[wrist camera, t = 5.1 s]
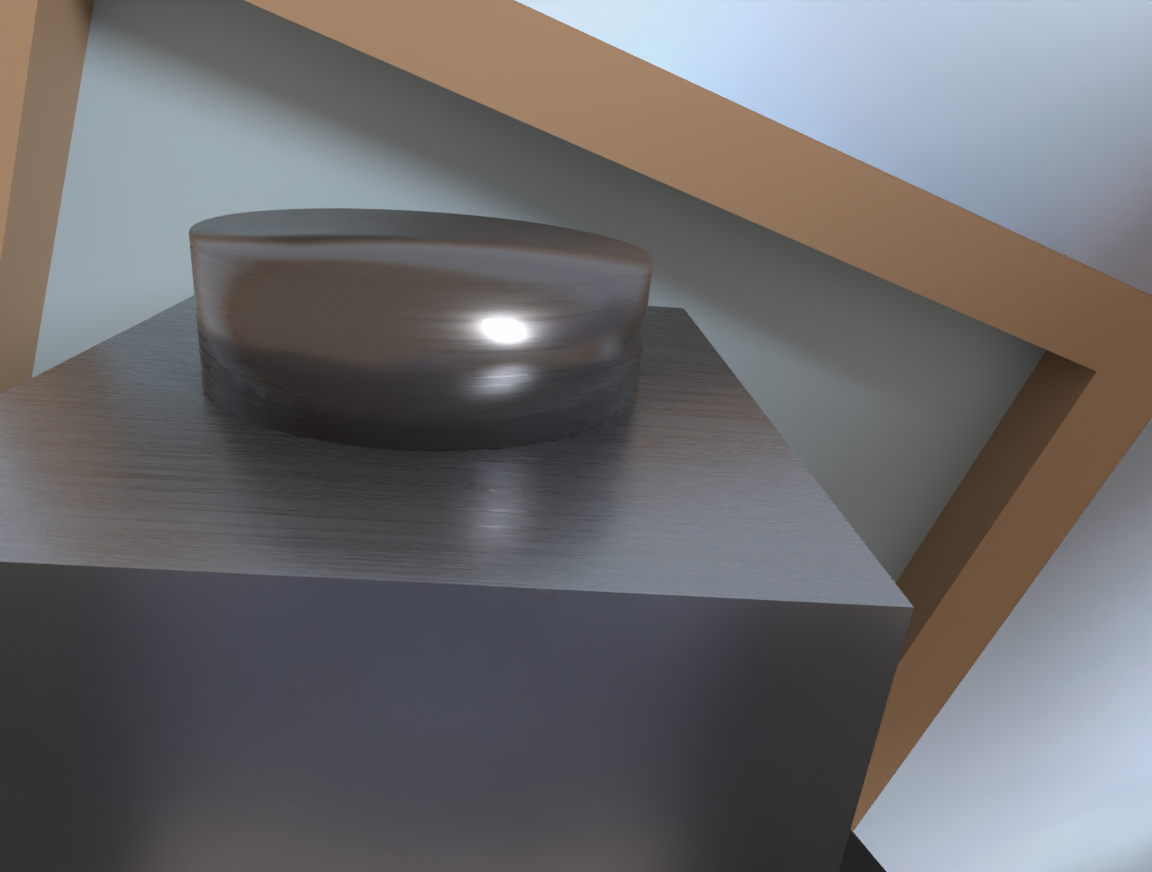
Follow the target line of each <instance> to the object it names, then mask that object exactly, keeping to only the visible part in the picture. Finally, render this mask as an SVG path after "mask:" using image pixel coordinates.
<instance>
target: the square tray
mask: <svg viewBox="0 0 1152 872" xmlns="http://www.w3.org/2000/svg"><path fill="white" fill-rule="evenodd" d="M310 208H355V209H389V210H410V211H427V212H441V213H454V214H465V215H476V216H485V217H495V218H503V219H511V220H519V221H527V222H534V223H541V224H547V225H553V226H559V227H565V228H570V229H575V230H581V231H585V232H590V233H594V234H599V235H602V236H606V237H610V238H614V239H617V240H620V241H624V242H627V243H629V244H632V245H634V246H637V247H639V248H641V249H643V250H645V251H646V252H648V253H649V254H650V255H651V256H652V258H653V267H652V275H651V284H650V292H649V300H648V306H658V307H671V308H684V309H685V311H686V312H687V313H688V315H689V316H690V317H691V318H692V320H693V321H694V322H695V324H696V325H697V326H698V327H699V329H700V330H701V331H702V333H703V334H704V335H705V337H706V338H707V339H708V340H709V342H710V343H711V344H712V346H713V347H714V348H715V350H716V351H717V352H718V353H719V355H720V356H721V357H722V359H723V360H724V361H725V363H726V364H727V365H728V366H729V368H730V369H731V370H732V372H733V373H734V374H735V376H736V377H737V378H738V379H739V381H740V382H741V383H742V385H743V386H744V387H745V389H746V390H747V391H748V392H749V394H750V395H751V396H752V398H753V399H754V400H755V402H756V403H757V404H758V405H759V407H760V408H761V409H762V411H763V412H764V413H765V415H766V416H767V417H768V418H769V420H770V421H771V422H772V424H773V425H774V426H775V428H776V429H777V430H778V431H779V433H780V434H781V435H782V437H783V438H784V439H785V441H786V442H787V443H788V444H789V446H790V447H791V448H792V450H793V451H794V452H795V454H796V455H797V456H798V457H799V459H800V460H801V461H802V463H803V464H804V465H805V467H806V468H807V469H808V470H809V472H810V473H811V474H812V476H813V477H814V478H815V479H816V481H817V482H818V483H819V485H820V486H821V487H822V489H823V490H824V491H825V492H826V494H827V495H828V496H829V498H830V499H831V500H832V502H833V503H834V504H835V505H836V507H837V508H838V509H839V511H840V512H841V513H842V515H843V516H844V517H845V518H846V520H847V521H848V522H849V524H850V525H851V526H852V528H853V529H854V530H855V531H856V533H857V534H858V535H859V537H860V538H861V539H862V541H863V542H864V543H865V544H866V546H867V547H868V548H869V550H870V551H871V552H872V554H873V555H874V556H875V557H876V559H877V560H878V561H879V563H880V564H881V565H882V567H883V568H884V569H885V570H886V572H887V573H888V574H889V576H890V577H891V578H892V580H893V581H894V582H895V583H896V585H897V586H898V587H899V589H900V590H901V591H902V593H903V594H904V595H905V596H906V598H907V599H908V600H909V602H910V603H911V604H912V606H913V607H914V609H913V612H912V616H911V619H910V623H909V626H908V630H907V633H906V637H905V640H904V644H903V647H902V651H901V654H900V658H899V661H898V665H897V668H896V672H895V675H894V679H893V682H892V686H891V689H890V693H889V697H888V700H887V704H886V707H885V711H884V714H883V718H882V721H881V725H880V728H879V732H878V735H877V739H876V742H875V746H874V749H873V753H872V756H871V760H870V763H869V767H868V770H867V774H866V777H865V781H864V784H863V788H862V791H861V795H860V798H859V802H858V805H857V809H856V812H855V816H854V819H853V823H852V826H851V830H852V831H853V830H854V829H855V828H856V826H857V825H858V824H859V822H860V821H861V819H862V818H863V817H864V815H865V814H866V812H867V811H868V810H869V808H870V807H871V805H872V804H873V803H874V801H875V800H876V799H877V797H878V796H879V794H880V793H881V792H882V790H883V789H884V787H885V786H886V785H887V783H888V782H889V781H890V779H891V778H892V776H893V775H894V774H895V772H896V771H897V769H898V768H899V767H900V765H901V764H902V762H903V761H904V760H905V758H906V757H907V756H908V754H909V753H910V751H911V750H912V749H913V747H914V746H915V744H916V743H917V742H918V740H919V739H920V737H921V736H922V735H923V733H924V732H925V731H926V729H927V728H928V726H929V725H930V724H931V722H932V721H933V719H934V718H935V717H936V715H937V714H938V712H939V711H940V710H941V708H942V707H943V706H944V704H945V703H946V701H947V700H948V699H949V697H950V696H951V694H952V693H953V692H954V690H955V689H956V688H957V686H958V685H959V683H960V682H961V681H962V679H963V678H964V676H965V675H966V674H967V672H968V671H969V669H970V668H971V667H972V665H973V664H974V663H975V661H976V660H977V658H978V657H979V656H980V654H981V653H982V651H983V650H984V649H985V647H986V646H987V644H988V643H989V642H990V640H991V639H992V638H993V636H994V635H995V633H996V632H997V631H998V629H999V628H1000V626H1001V625H1002V624H1003V622H1004V621H1005V620H1006V618H1007V617H1008V615H1009V614H1010V613H1011V611H1012V610H1013V608H1014V607H1015V606H1016V604H1017V603H1018V601H1019V600H1020V599H1021V597H1022V596H1023V595H1024V593H1025V592H1026V590H1027V589H1028V588H1029V586H1030V585H1031V583H1032V582H1033V581H1034V579H1035V578H1036V576H1037V575H1038V574H1039V572H1040V571H1041V570H1042V568H1043V567H1044V565H1045V564H1046V563H1047V561H1048V560H1049V558H1050V557H1051V556H1052V554H1053V553H1054V552H1055V550H1056V549H1057V547H1058V546H1059V545H1060V543H1061V542H1062V540H1063V539H1064V538H1065V536H1066V535H1067V533H1068V532H1069V531H1070V529H1071V528H1072V527H1073V525H1074V524H1075V522H1076V521H1077V520H1078V518H1079V517H1080V515H1081V514H1082V513H1083V511H1084V510H1085V508H1086V507H1087V506H1088V504H1089V503H1090V502H1091V500H1092V499H1093V497H1094V496H1095V495H1096V493H1097V492H1098V490H1099V489H1100V488H1101V486H1102V485H1103V483H1104V482H1105V481H1106V479H1107V478H1108V477H1109V475H1110V474H1111V472H1112V471H1113V470H1114V468H1115V467H1116V465H1117V464H1118V463H1119V461H1120V460H1121V459H1122V457H1123V456H1124V454H1125V453H1126V452H1127V450H1128V449H1129V447H1130V446H1131V445H1132V443H1133V442H1134V440H1135V439H1136V438H1137V436H1138V435H1139V434H1140V432H1141V431H1142V429H1143V428H1144V427H1145V425H1146V424H1147V422H1148V421H1149V420H1150V418H1151V417H1152V296H1151V295H1149V294H1147V293H1145V292H1142V291H1140V290H1138V289H1136V288H1134V287H1132V286H1129V285H1127V284H1125V283H1123V282H1121V281H1119V280H1116V279H1114V278H1112V277H1110V276H1108V275H1106V274H1104V273H1101V272H1099V271H1097V270H1095V269H1093V268H1091V267H1088V266H1086V265H1084V264H1082V263H1080V262H1078V261H1075V260H1073V259H1071V258H1069V257H1067V256H1065V255H1063V254H1060V253H1058V252H1056V251H1054V250H1052V249H1050V248H1047V247H1045V246H1043V245H1041V244H1039V243H1037V242H1034V241H1032V240H1030V239H1028V238H1026V237H1024V236H1022V235H1019V234H1017V233H1015V232H1013V231H1011V230H1009V229H1006V228H1004V227H1002V226H1000V225H998V224H996V223H993V222H991V221H989V220H987V219H985V218H983V217H981V216H978V215H976V214H974V213H972V212H970V211H968V210H965V209H963V208H961V207H959V206H957V205H955V204H952V203H950V202H948V201H946V200H944V199H942V198H940V197H937V196H935V195H933V194H931V193H929V192H927V191H924V190H922V189H920V188H918V187H916V186H914V185H911V184H909V183H907V182H905V181H903V180H901V179H899V178H896V177H894V176H892V175H890V174H888V173H886V172H883V171H881V170H879V169H877V168H875V167H873V166H870V165H868V164H866V163H864V162H862V161H860V160H858V159H855V158H853V157H851V156H849V155H847V154H845V153H842V152H840V151H838V150H836V149H834V148H832V147H830V146H827V145H825V144H823V143H821V142H819V141H817V140H814V139H812V138H810V137H808V136H806V135H804V134H801V133H799V132H797V131H795V130H793V129H791V128H789V127H786V126H784V125H782V124H780V123H778V122H776V121H773V120H771V119H769V118H767V117H765V116H763V115H760V114H758V113H756V112H754V111H752V110H750V109H748V108H745V107H743V106H741V105H739V104H737V103H735V102H732V101H730V100H728V99H726V98H724V97H722V96H719V95H717V94H715V93H713V92H711V91H709V90H707V89H704V88H702V87H700V86H698V85H696V84H694V83H691V82H689V81H687V80H685V79H683V78H681V77H678V76H676V75H674V74H672V73H670V72H668V71H666V70H663V69H661V68H659V67H657V66H655V65H653V64H650V63H648V62H646V61H644V60H642V59H640V58H637V57H635V56H633V55H631V54H629V53H627V52H625V51H622V50H620V49H618V48H616V47H614V46H612V45H609V44H607V43H605V42H603V41H601V40H599V39H596V38H594V37H592V36H590V35H588V34H586V33H584V32H581V31H579V30H577V29H575V28H573V27H571V26H568V25H566V24H564V23H562V22H560V21H558V20H555V19H553V18H551V17H549V16H547V15H545V14H543V13H540V12H538V11H536V10H534V9H532V8H530V7H527V6H525V5H523V4H521V3H519V2H517V1H514V0H0V394H2V393H4V392H6V391H7V390H9V389H11V388H13V387H15V386H17V385H19V384H21V383H23V382H25V381H27V380H29V379H31V378H33V377H35V376H37V375H39V374H41V373H43V372H45V371H47V370H49V369H50V368H52V367H54V366H56V365H58V364H60V363H62V362H64V361H66V360H68V359H70V358H72V357H74V356H76V355H78V354H80V353H82V352H84V351H86V350H88V349H90V348H92V347H93V346H95V345H97V344H99V343H101V342H103V341H105V340H107V339H109V338H111V337H113V336H115V335H117V334H119V333H121V332H123V331H125V330H127V329H129V328H131V327H133V326H135V325H136V324H138V323H140V322H142V321H144V320H146V319H148V318H150V317H152V316H154V315H156V314H158V313H160V312H162V311H164V310H166V309H168V308H170V307H172V306H174V305H176V304H178V303H179V302H181V301H183V300H185V299H187V298H189V297H191V296H193V295H194V286H193V275H192V264H191V252H190V241H189V230H190V227H192V226H193V225H194V224H196V223H198V222H201V221H203V220H206V219H210V218H214V217H218V216H223V215H229V214H236V213H244V212H253V211H266V210H282V209H310Z"/></svg>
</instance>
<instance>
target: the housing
mask: <svg viewBox="0 0 1152 872" xmlns="http://www.w3.org/2000/svg"><path fill="white" fill-rule="evenodd" d="M189 241H190V252H191V264H192V275H193V286H194V295H193V296H191V297H189V298H187V299H185V300H183V301H181V302H179V303H178V304H176V305H174V306H172V307H170V308H168V309H166V310H164V311H162V312H160V313H158V314H156V315H154V316H152V317H150V318H148V319H146V320H144V321H142V322H140V323H138V324H136V325H135V326H133V327H131V328H129V329H127V330H125V331H123V332H121V333H119V334H117V335H115V336H113V337H111V338H109V339H107V340H105V341H103V342H101V343H99V344H97V345H95V346H93V347H92V348H90V349H88V350H86V351H84V352H82V353H80V354H78V355H76V356H74V357H72V358H70V359H68V360H66V361H64V362H62V363H60V364H58V365H56V366H54V367H52V368H50V369H49V370H47V371H45V372H43V373H41V374H39V375H37V376H35V377H33V378H31V379H29V380H27V381H25V382H23V383H21V384H19V385H17V386H15V387H13V388H11V389H9V390H7V391H6V392H4V393H2V394H0V872H839V868H840V865H841V861H842V858H843V854H844V851H845V847H846V844H847V840H848V837H849V833H850V830H851V826H852V823H853V819H854V816H855V812H856V809H857V805H858V802H859V798H860V795H861V791H862V788H863V784H864V781H865V777H866V774H867V770H868V767H869V763H870V760H871V756H872V753H873V749H874V746H875V742H876V739H877V735H878V732H879V728H880V725H881V721H882V718H883V714H884V711H885V707H886V704H887V700H888V697H889V693H890V689H891V686H892V682H893V679H894V675H895V672H896V668H897V665H898V661H899V658H900V654H901V651H902V647H903V644H904V640H905V637H906V633H907V630H908V626H909V623H910V619H911V616H912V612H913V609H914V607H913V606H912V604H911V603H910V602H909V600H908V599H907V598H906V596H905V595H904V594H903V593H902V591H901V590H900V589H899V587H898V586H897V585H896V583H895V582H894V581H893V580H892V578H891V577H890V576H889V574H888V573H887V572H886V570H885V569H884V568H883V567H882V565H881V564H880V563H879V561H878V560H877V559H876V557H875V556H874V555H873V554H872V552H871V551H870V550H869V548H868V547H867V546H866V544H865V543H864V542H863V541H862V539H861V538H860V537H859V535H858V534H857V533H856V531H855V530H854V529H853V528H852V526H851V525H850V524H849V522H848V521H847V520H846V518H845V517H844V516H843V515H842V513H841V512H840V511H839V509H838V508H837V507H836V505H835V504H834V503H833V502H832V500H831V499H830V498H829V496H828V495H827V494H826V492H825V491H824V490H823V489H822V487H821V486H820V485H819V483H818V482H817V481H816V479H815V478H814V477H813V476H812V474H811V473H810V472H809V470H808V469H807V468H806V467H805V465H804V464H803V463H802V461H801V460H800V459H799V457H798V456H797V455H796V454H795V452H794V451H793V450H792V448H791V447H790V446H789V444H788V443H787V442H786V441H785V439H784V438H783V437H782V435H781V434H780V433H779V431H778V430H777V429H776V428H775V426H774V425H773V424H772V422H771V421H770V420H769V418H768V417H767V416H766V415H765V413H764V412H763V411H762V409H761V408H760V407H759V405H758V404H757V403H756V402H755V400H754V399H753V398H752V396H751V395H750V394H749V392H748V391H747V390H746V389H745V387H744V386H743V385H742V383H741V382H740V381H739V379H738V378H737V377H736V376H735V374H734V373H733V372H732V370H731V369H730V368H729V366H728V365H727V364H726V363H725V361H724V360H723V359H722V357H721V356H720V355H719V353H718V352H717V351H716V350H715V348H714V347H713V346H712V344H711V343H710V342H709V340H708V339H707V338H706V337H705V335H704V334H703V333H702V331H701V330H700V329H699V327H698V326H697V325H696V324H695V322H694V321H693V320H692V318H691V317H690V316H689V315H688V313H687V312H686V311H685V309H684V308H671V307H658V306H648V300H649V292H650V284H651V275H652V267H653V258H652V256H651V255H650V254H649V253H648V252H646V251H645V250H643V249H641V248H639V247H637V246H634V245H632V244H629V243H627V242H624V241H620V240H617V239H614V238H610V237H606V236H602V235H599V234H594V233H590V232H585V231H581V230H575V229H570V228H565V227H559V226H553V225H547V224H541V223H534V222H527V221H519V220H511V219H503V218H495V217H485V216H476V215H465V214H454V213H441V212H427V211H410V210H389V209H355V208H310V209H282V210H266V211H253V212H244V213H236V214H229V215H223V216H218V217H214V218H210V219H206V220H203V221H201V222H198V223H196V224H194V225H193V226H192V227H190V230H189Z"/></svg>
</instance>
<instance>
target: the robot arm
mask: <svg viewBox="0 0 1152 872" xmlns="http://www.w3.org/2000/svg"><path fill="white" fill-rule="evenodd" d="M839 872H886V871H885V869H884V868H883V867H882V866H881V865H880V864H879V862H878V861H877V860H876V859H875V858H874V857H873V855H872V854H871V853H870V852H869V851H868V849H867V848H866V847H865V846H864V845H863V843H862V842H861V841H860V840H859V839H858V837H857V836H856V835H855V834H854V833H853V831H852V830H850V833H849V837H848V840H847V844H846V847H845V851H844V854H843V858H842V861H841V865H840V868H839Z"/></svg>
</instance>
